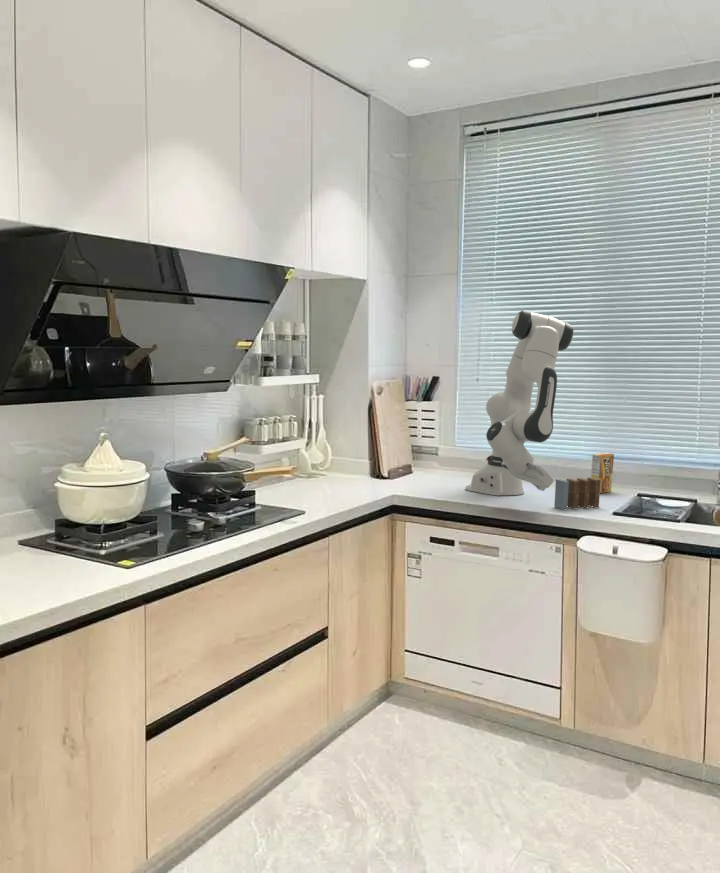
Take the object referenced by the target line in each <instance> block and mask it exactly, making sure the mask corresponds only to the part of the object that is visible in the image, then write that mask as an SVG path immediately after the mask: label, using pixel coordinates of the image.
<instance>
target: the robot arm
mask: <svg viewBox="0 0 720 873" xmlns="http://www.w3.org/2000/svg"><path fill="white" fill-rule="evenodd" d="M511 332H512V335H513V336H514V337H516V338H517V339H518V342H517V344H516V345H515V347H514V350H513V354H512V356H511V359H510V362H509V364H508V367H507V369H506V371H505V375H506V383H505V388H504V391H502V392H497V393H495V394H493V395H492V396H491V397H489V399H487V402H486V405H485V409H486V414H487V415H488V416H489V418H490V425H491V426H489V428H488V429H487V431H486V434H485V436H486V440H487V443H488V444H489V446H490V447H491V449H492V451H491V452H492V454H490V455H489V456H487V457H486V459H485V461H487V464H485V465H484V466H483V467H481V468H479V470H477V471H476V472H475V473H473V476H472V478H471V483H470V484H468V485H466V486H465V489H464V490H465V491H470V492H473V493H474V492H475V493H481V494H484V495H485V494H486V495H492V496H517V495H518V496H519V495H523V494H524V493H525V491H524V487H523V481H525V482H527V483H531V485H533V486H534V487H535V488H536V489H537V490H539V491H542V492H544V491H545V490H546V489H548V488H549V487H551V486H552V484H553V482H554V479H553V477H552V476H551V475H550V474H549V473H548V472H547V471H546V470H545V469H544V468H543V467H541V465H537V464H534V456H533V455H532V454H531V452H530V451H529V450H528V449H527V448H526V447H525V442H532V443H544V442H545V441H547V440H548V439H550V437H551V435H552V433H553V430H554V418H553V417H554V408H555V400H556V394H557V388H558V384H557V383H558V376H557V372H556V369H555V367H556V361H557V357H558V352H562V351H564V350H567V349H568V348H569V346H570V345H571V343H572V341H573V339H574V338H573V337H574V328H573V326H572V325H571V324H570V323H568V322H566V321H562V320H559V319H558V318H555V317H553V316H551V315H550V316H549V315H545V314H540V313H536V312H531V310H520V311H519V312H518V313H517V314H516V316H515V317H514V318H513V320H512V324H511ZM535 383H536V384H537V392H536V393H537V394H536V402H535V406H534V409H533V410H532V411H531V412H530V410H531V409H532V401H531V399H532V395H533V388H534V384H535Z"/></svg>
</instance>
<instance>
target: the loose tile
mask: <svg viewBox="0 0 720 873" xmlns="http://www.w3.org/2000/svg"><path fill="white" fill-rule="evenodd" d="M554 487H555V489H554V491H555V492H554V506H555V507H554V508H556V507H558V508H557V509H559V508H561V509H560V510H562V509H567V510H568V507H567V505H568V487H569V481H566V480H565V479H561V478H556V479H555V486H554Z"/></svg>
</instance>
